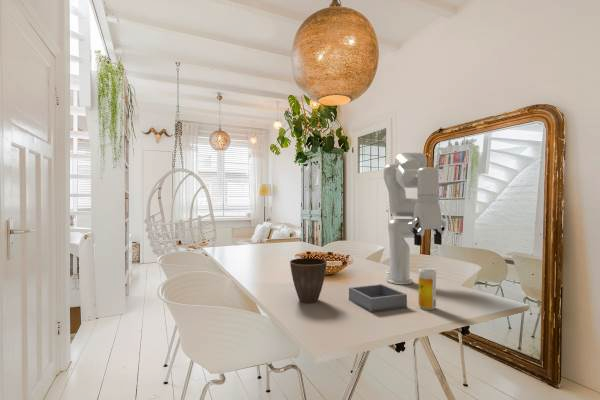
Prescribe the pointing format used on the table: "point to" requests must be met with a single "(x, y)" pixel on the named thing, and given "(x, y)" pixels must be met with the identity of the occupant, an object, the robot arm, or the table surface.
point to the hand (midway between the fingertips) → (427, 244)
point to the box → (377, 298)
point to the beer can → (427, 288)
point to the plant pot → (308, 278)
